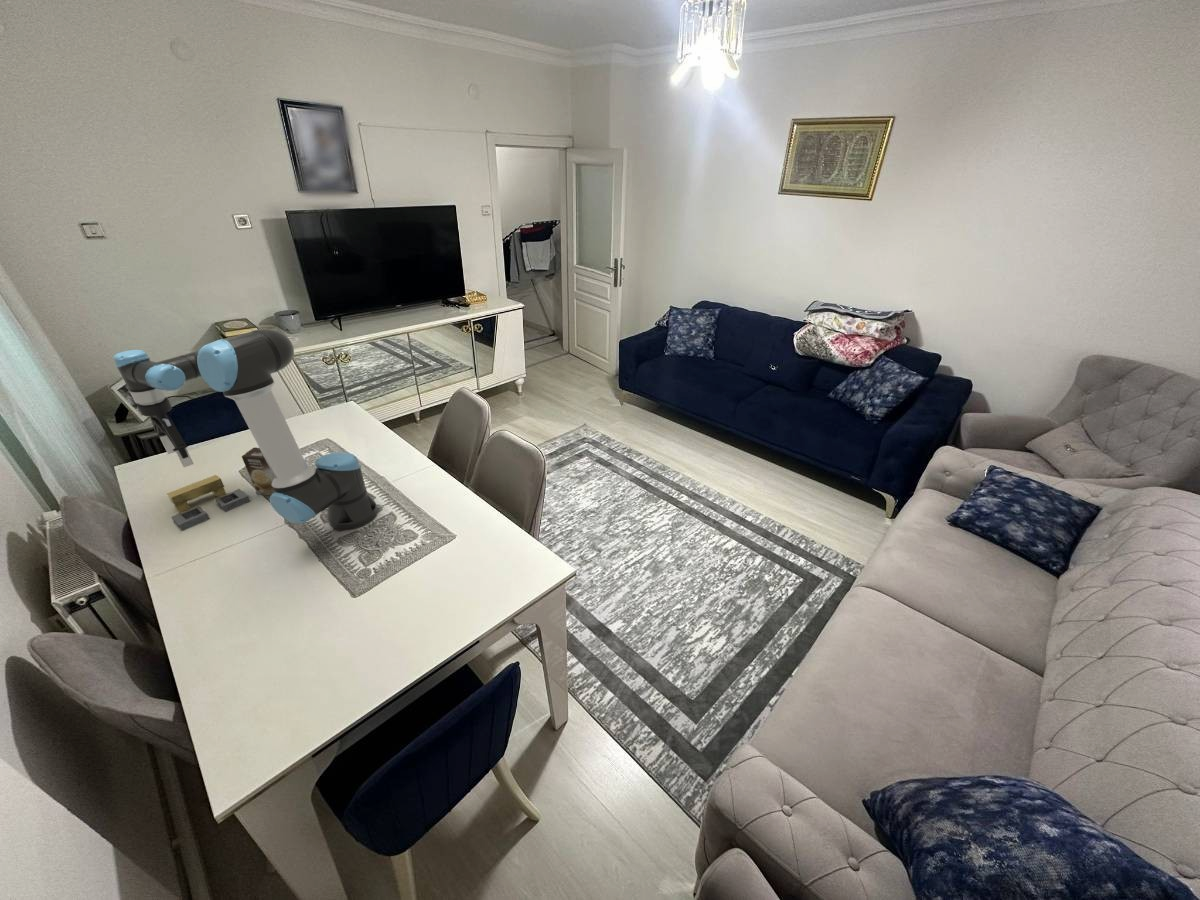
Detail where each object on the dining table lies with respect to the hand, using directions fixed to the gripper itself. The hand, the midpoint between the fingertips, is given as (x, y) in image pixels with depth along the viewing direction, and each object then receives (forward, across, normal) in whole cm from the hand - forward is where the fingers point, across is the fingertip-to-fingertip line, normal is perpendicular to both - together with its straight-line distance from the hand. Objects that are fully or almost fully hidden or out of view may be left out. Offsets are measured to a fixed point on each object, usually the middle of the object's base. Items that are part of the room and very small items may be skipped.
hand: (180, 458), depth 159 cm
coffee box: (+17, -13, -18) cm, 28 cm away
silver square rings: (+17, -10, 0) cm, 20 cm away
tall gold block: (+17, 0, 0) cm, 17 cm away
